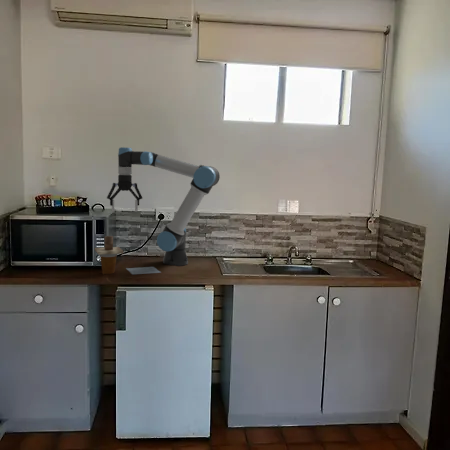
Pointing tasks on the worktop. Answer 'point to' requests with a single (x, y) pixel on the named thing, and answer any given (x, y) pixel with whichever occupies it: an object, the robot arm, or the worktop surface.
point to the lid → (109, 247)
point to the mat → (143, 270)
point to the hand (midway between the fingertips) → (124, 211)
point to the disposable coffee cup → (108, 263)
